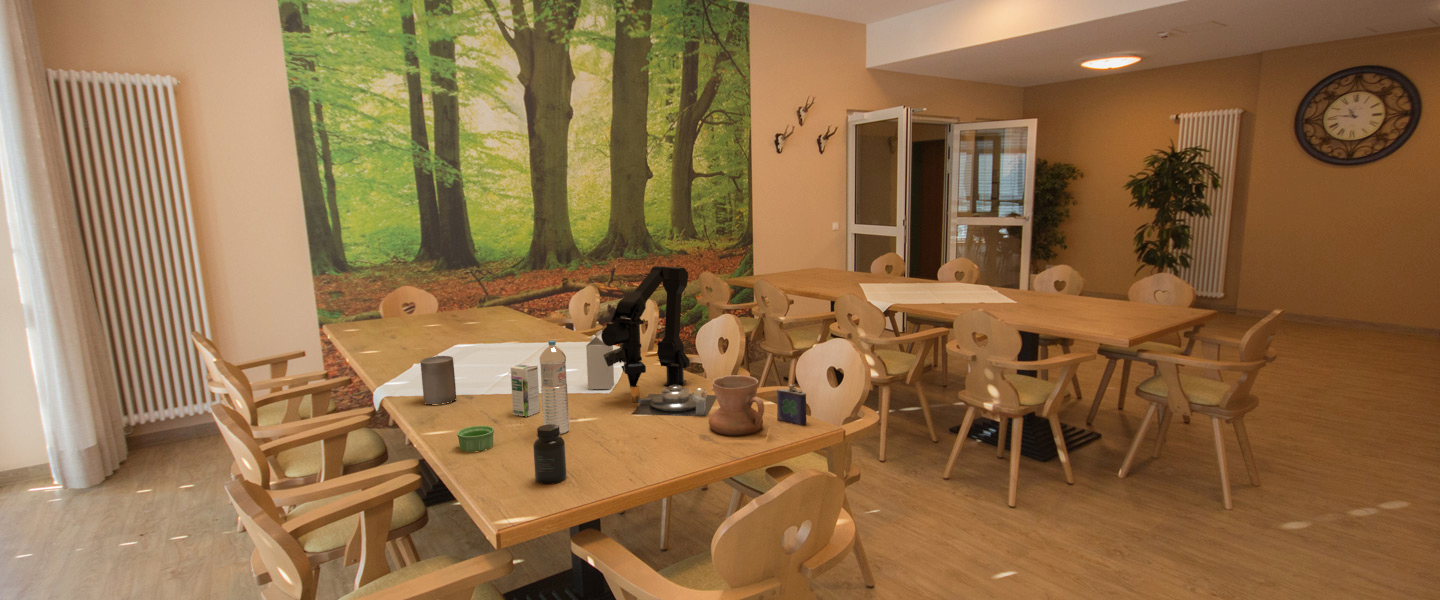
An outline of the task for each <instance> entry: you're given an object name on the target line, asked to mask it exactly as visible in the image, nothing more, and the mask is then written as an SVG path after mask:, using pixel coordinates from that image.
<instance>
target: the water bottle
mask: <svg viewBox="0 0 1440 600" xmlns="http://www.w3.org/2000/svg"><path fill="white" fill-rule="evenodd" d="M547 344H548V347H546V348H545V349H544V350H543V351H542V352H541V355H540V356H539V363H540V379H541V380H540V382H541V384H540V385H541V387H540V389H541V391H540V392H541V406H542V407H541V408H542V425H548V424H555V425H558V426H559V429H560V435H563V433H564V434H566V433H568V432H569V430H570V418H569V397H568V396H569V395H568V384H567V366H566V365H567V364H566V361H567V355H566V353H564V351H563V350H561V348H559V347H558V346H556V340H549V341H548V343H547Z"/></svg>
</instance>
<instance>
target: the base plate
mask: <svg viewBox="0 0 1440 600" xmlns="http://www.w3.org/2000/svg"><path fill="white" fill-rule="evenodd" d="M659 395H662V393H649V394H648V395H647V396H646V397H645V398H653V397H656V396H659ZM705 400H706V414H705V415H704V416H703V415H696V408H695V409H691V410H686V411H662V410H657V409H654V408H652V407H651V406H650V404H644V403H639V405H638V406H637V407H636V408H635V409H634V410H633V411H632V413H630V415H636V416H665V417H666V416H672V417H673V416H674V417H708V415H709V413H710V412H711V410H712V407H713V406H714V404H715V402H716V401H717V398H716V395H715V394H707V397H706V399H705Z"/></svg>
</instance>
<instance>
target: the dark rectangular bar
mask: <svg viewBox="0 0 1440 600" xmlns="http://www.w3.org/2000/svg"><path fill="white" fill-rule="evenodd" d="M691 394H692V398H693V400H694V401H695V402H696V415H703V416H704V415H705V414H706V400H705V399H706V397H707V395H708V394H707V391H706V389H705V388H701V387H698V388H695V389H694V390H693V391H692V393H691Z"/></svg>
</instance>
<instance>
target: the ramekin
mask: <svg viewBox="0 0 1440 600" xmlns="http://www.w3.org/2000/svg"><path fill="white" fill-rule="evenodd" d="M494 433H495V428H494V427H492V426H489V425H485V424H484V425H473V426H467V427H464V428H461V429H459V430H458V431H457V432H456V436H457V438H458V444H459V449H460V450H461V451H462V452H464V451H466V453H476V452H475V451H479V452H482V451H481V450H484V451H486V450H485V449H487V450H489V449H491V448H492V447H493V446H492V445H494ZM490 447H491V448H490ZM488 448H489V449H488Z"/></svg>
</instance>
